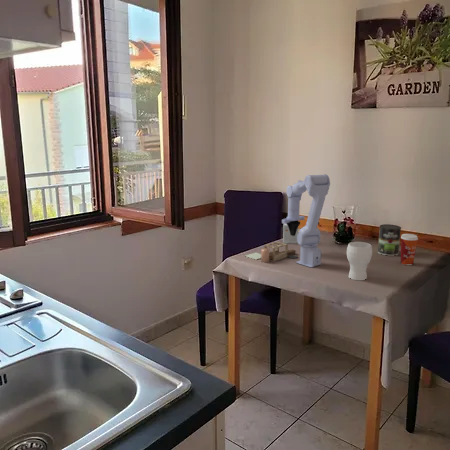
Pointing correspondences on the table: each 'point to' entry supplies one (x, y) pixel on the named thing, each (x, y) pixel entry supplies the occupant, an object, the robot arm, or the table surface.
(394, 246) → the coffee can
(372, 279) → the table surface
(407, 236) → the paper cup
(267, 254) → the cylinder
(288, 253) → the rod
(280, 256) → the wooden ladder stand
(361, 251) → the cup
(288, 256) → the mat
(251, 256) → the pad
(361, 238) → the table surface
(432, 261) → the table surface
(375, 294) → the table surface
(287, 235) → the small box
